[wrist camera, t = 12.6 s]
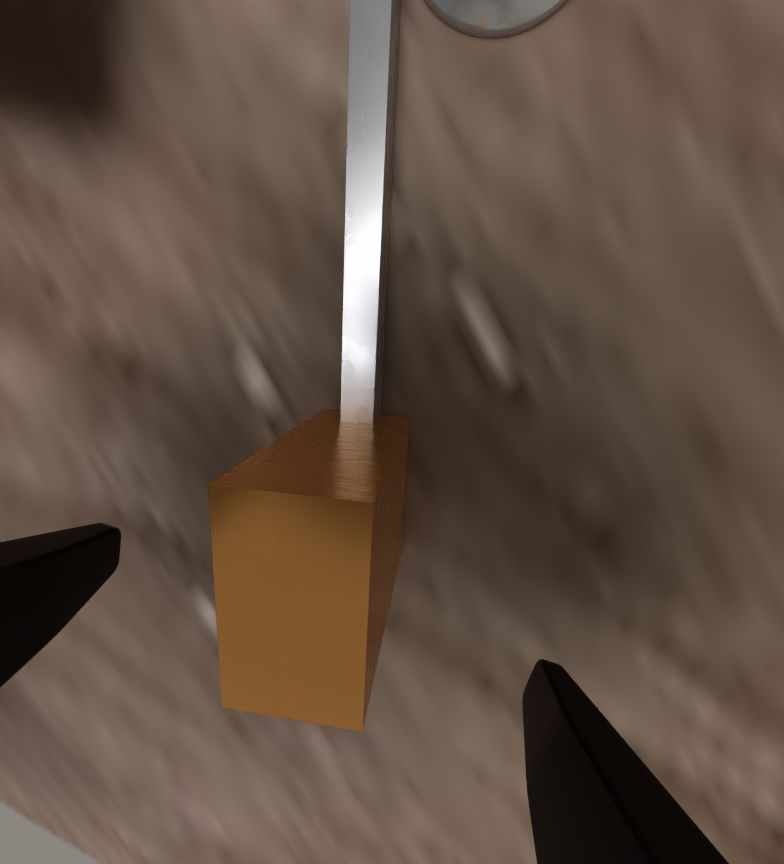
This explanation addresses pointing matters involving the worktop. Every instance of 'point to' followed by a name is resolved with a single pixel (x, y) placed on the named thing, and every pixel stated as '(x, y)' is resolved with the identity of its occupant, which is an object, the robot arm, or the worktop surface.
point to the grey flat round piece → (494, 15)
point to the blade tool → (325, 468)
